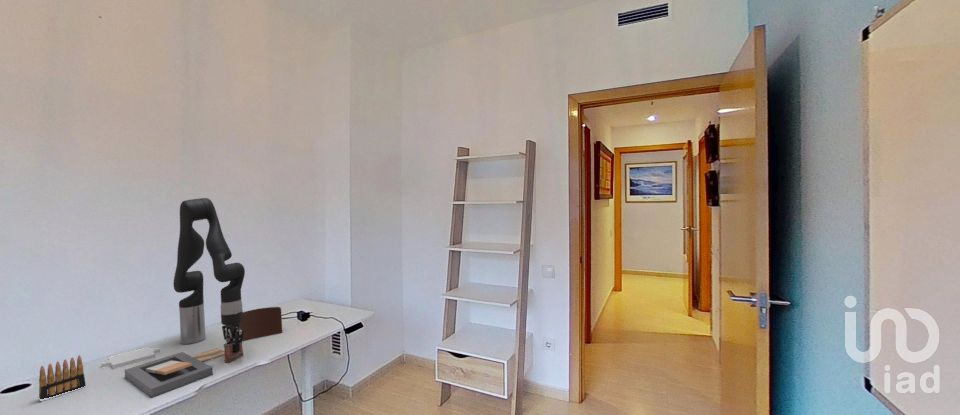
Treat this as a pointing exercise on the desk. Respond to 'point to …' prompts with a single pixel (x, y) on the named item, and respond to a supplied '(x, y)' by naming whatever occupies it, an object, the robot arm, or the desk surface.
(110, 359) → the mounting plate
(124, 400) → the desk surface
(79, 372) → the ammunition clip
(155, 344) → the desk surface
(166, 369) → the two-tone tile
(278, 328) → the letter holder
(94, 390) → the desk surface
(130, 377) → the gray rectangular recessed tray
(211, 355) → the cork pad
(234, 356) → the lighter
